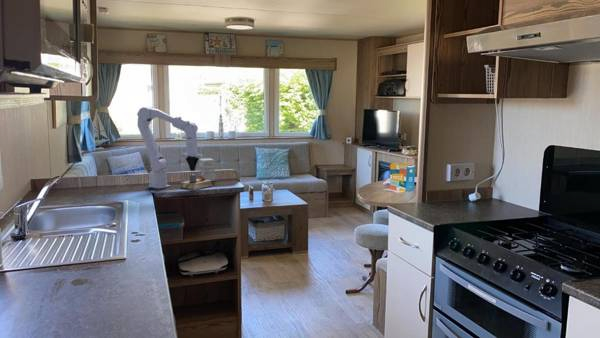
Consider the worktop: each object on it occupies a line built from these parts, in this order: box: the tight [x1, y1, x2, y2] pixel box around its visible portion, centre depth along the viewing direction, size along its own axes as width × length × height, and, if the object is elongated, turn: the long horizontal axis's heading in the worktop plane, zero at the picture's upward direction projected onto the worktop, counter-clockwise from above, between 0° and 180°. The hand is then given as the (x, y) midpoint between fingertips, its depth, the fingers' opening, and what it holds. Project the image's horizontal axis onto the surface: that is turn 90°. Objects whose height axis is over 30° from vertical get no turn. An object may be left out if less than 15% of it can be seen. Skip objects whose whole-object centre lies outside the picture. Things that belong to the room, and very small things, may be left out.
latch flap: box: [196, 174, 206, 180], centre depth 264 cm, size 3×4×1 cm
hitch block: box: [180, 178, 213, 191], centre depth 261 cm, size 10×13×3 cm
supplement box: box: [198, 157, 216, 182], centre depth 279 cm, size 7×7×13 cm
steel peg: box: [189, 173, 197, 183], centre depth 259 cm, size 4×4×7 cm
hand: (192, 170), depth 258 cm, fingers closed
